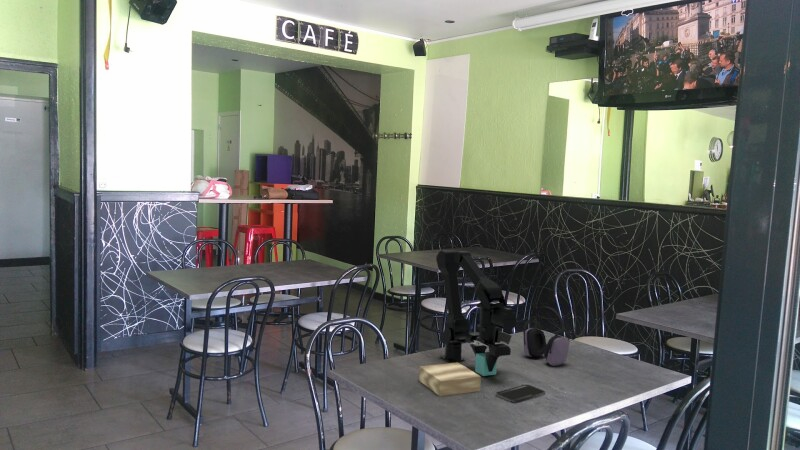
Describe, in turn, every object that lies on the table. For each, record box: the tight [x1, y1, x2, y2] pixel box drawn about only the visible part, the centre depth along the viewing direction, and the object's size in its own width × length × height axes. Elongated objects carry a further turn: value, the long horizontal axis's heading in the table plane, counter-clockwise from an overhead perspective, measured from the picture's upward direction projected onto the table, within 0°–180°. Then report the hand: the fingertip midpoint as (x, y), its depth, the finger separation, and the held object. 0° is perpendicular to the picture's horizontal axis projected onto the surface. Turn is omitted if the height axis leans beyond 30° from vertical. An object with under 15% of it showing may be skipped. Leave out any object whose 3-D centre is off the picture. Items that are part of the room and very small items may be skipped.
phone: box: [495, 384, 546, 404], centre depth 176 cm, size 8×1×15 cm
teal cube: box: [474, 353, 498, 377], centre depth 193 cm, size 5×5×6 cm
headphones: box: [523, 305, 571, 367], centre depth 211 cm, size 9×17×20 cm, turn 34°
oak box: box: [418, 362, 482, 397], centre depth 181 cm, size 14×14×5 cm
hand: (485, 369), depth 193 cm, fingers closed on teal cube, 5 cm apart
